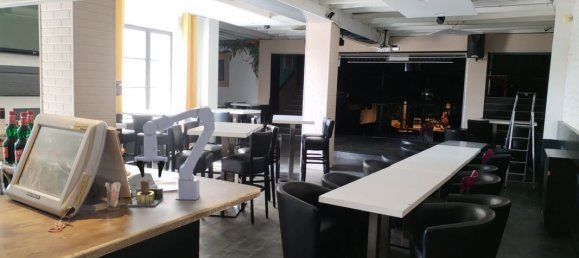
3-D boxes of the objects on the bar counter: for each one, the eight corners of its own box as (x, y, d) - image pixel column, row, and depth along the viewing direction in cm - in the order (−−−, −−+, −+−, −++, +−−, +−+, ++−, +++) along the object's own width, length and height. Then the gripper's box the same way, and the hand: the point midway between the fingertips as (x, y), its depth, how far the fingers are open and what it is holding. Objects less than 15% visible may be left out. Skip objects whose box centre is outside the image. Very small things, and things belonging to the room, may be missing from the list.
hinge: (133, 196, 199) (127, 176, 199) (126, 198, 201) (120, 178, 201) (158, 188, 214) (153, 169, 214) (152, 190, 216) (146, 171, 216)
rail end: (150, 199, 191) (149, 180, 190) (148, 201, 188) (148, 181, 187) (142, 199, 191) (141, 180, 190) (140, 202, 187) (139, 182, 186)
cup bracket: (163, 199, 196) (162, 188, 195) (155, 207, 184) (154, 196, 183) (137, 198, 196) (136, 188, 195) (127, 206, 184) (126, 195, 183)
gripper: (131, 149, 188) (132, 178, 190) (164, 149, 189) (164, 179, 190) (136, 146, 195) (137, 175, 197) (168, 146, 196) (169, 175, 197)
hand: (151, 177), depth 194 cm, fingers open, 7 cm apart
